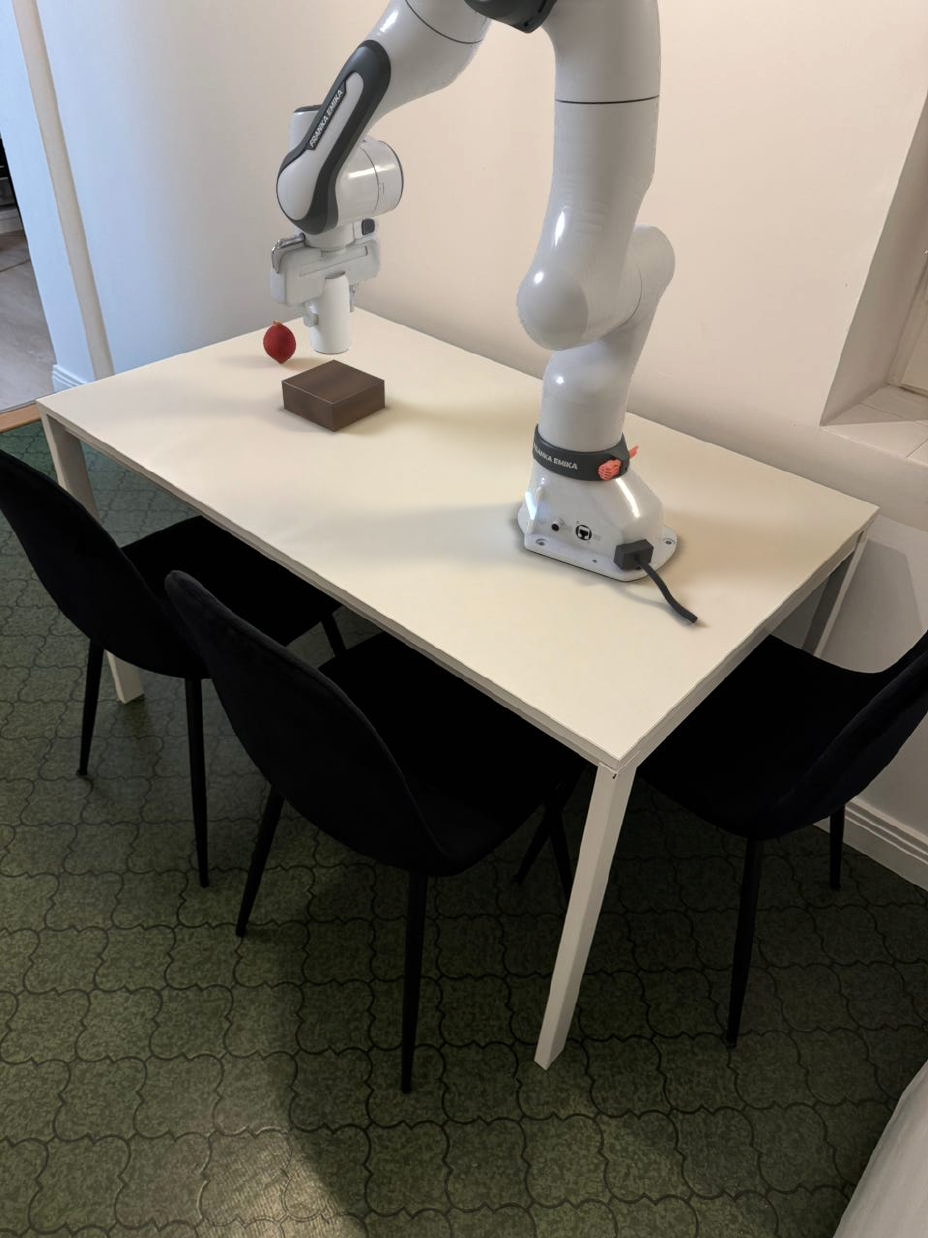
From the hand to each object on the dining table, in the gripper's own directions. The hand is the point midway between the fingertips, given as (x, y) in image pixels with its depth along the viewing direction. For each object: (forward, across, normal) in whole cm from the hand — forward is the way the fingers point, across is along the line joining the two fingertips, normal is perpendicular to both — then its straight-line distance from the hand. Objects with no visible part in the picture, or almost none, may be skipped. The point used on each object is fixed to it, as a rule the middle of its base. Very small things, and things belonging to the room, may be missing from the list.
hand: (329, 318), depth 143 cm
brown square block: (+15, 0, 0) cm, 15 cm away
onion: (+16, +6, +20) cm, 26 cm away
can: (+5, 0, 0) cm, 5 cm away
